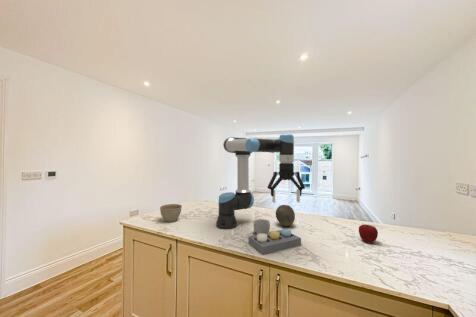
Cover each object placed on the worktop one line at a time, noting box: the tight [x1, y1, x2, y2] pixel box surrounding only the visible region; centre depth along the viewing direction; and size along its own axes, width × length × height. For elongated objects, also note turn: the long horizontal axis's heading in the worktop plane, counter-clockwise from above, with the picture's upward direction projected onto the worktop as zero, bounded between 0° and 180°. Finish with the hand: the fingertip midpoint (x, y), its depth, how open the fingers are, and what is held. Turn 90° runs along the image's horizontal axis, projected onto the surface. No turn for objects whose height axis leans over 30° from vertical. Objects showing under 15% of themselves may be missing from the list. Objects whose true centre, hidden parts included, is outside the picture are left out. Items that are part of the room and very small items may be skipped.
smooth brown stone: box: [275, 204, 296, 227], centre depth 143 cm, size 14×14×15 cm
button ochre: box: [269, 230, 279, 241], centre depth 112 cm, size 6×6×4 cm
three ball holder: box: [247, 229, 302, 256], centre depth 112 cm, size 15×26×4 cm, turn 116°
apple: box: [358, 224, 379, 244], centre depth 116 cm, size 10×10×10 cm
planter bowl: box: [159, 203, 183, 223], centre depth 152 cm, size 16×16×11 cm
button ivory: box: [256, 233, 267, 244], centre depth 108 cm, size 6×6×4 cm
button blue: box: [280, 228, 292, 238], centre depth 115 cm, size 6×6×4 cm
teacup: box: [252, 218, 271, 235], centre depth 129 cm, size 14×11×8 cm
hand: (286, 201), depth 106 cm, fingers open, 13 cm apart
